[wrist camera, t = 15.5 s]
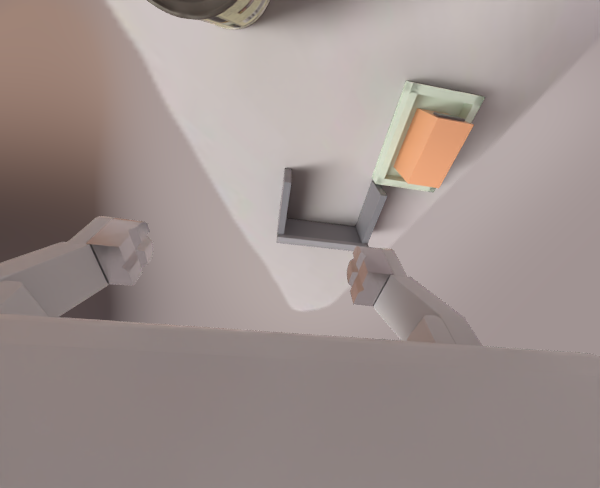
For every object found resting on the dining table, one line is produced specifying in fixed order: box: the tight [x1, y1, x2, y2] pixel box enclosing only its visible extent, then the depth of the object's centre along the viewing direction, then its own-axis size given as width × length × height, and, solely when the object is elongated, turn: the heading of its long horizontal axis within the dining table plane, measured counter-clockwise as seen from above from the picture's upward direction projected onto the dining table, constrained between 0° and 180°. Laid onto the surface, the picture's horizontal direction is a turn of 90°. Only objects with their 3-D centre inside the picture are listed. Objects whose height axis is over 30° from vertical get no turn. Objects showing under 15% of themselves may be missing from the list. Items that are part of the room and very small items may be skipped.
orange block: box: [393, 108, 474, 188], centre depth 33 cm, size 8×4×6 cm, turn 171°
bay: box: [277, 168, 387, 251], centre depth 39 cm, size 10×15×6 cm
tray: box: [372, 81, 485, 192], centre depth 35 cm, size 13×10×2 cm
